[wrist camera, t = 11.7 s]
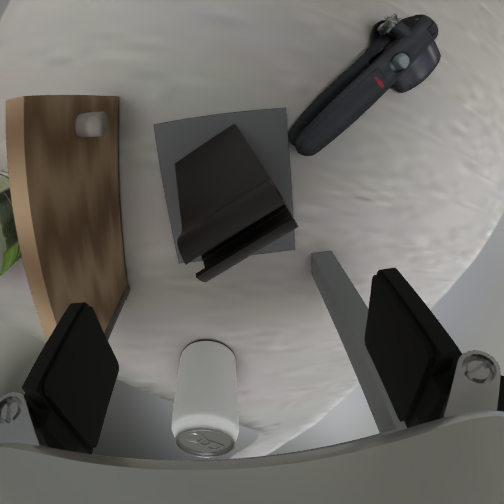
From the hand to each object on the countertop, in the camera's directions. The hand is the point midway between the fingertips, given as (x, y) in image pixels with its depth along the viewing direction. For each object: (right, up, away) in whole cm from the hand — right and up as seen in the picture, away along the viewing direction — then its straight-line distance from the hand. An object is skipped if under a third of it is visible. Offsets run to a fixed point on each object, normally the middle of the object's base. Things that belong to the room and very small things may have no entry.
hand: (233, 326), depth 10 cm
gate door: (-11, +7, +17) cm, 21 cm away
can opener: (+10, +18, +14) cm, 25 cm away
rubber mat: (-1, +8, +17) cm, 19 cm away
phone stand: (-1, +8, +17) cm, 19 cm away
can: (-5, -10, +26) cm, 28 cm away
